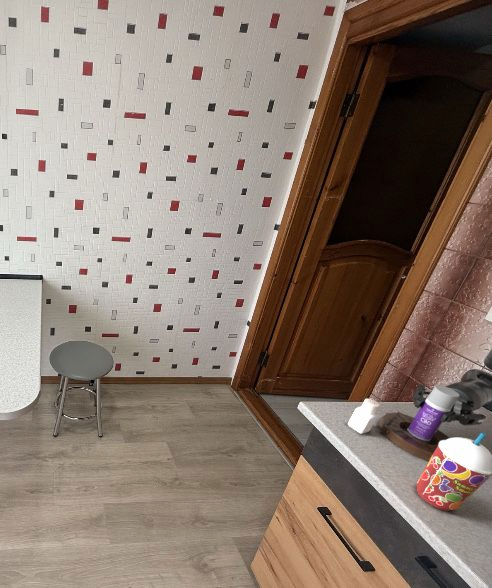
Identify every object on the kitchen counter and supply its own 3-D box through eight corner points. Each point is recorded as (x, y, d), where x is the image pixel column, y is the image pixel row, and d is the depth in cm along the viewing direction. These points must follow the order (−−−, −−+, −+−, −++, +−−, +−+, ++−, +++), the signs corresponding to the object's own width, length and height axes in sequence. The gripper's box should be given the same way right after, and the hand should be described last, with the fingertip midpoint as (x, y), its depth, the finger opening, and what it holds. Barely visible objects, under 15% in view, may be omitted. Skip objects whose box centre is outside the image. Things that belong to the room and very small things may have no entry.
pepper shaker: (355, 421, 96) (369, 396, 92) (369, 432, 93) (385, 406, 89) (346, 424, 95) (360, 398, 91) (360, 435, 92) (376, 408, 88)
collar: (459, 448, 90) (464, 441, 89) (445, 473, 82) (450, 466, 81) (389, 412, 101) (393, 406, 100) (371, 431, 93) (375, 424, 92)
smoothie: (441, 520, 71) (496, 453, 62) (399, 484, 78) (444, 420, 70) (469, 514, 72) (526, 448, 64) (426, 479, 80) (472, 416, 72)
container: (409, 435, 90) (437, 391, 84) (406, 424, 94) (432, 382, 88) (432, 444, 88) (462, 399, 82) (428, 433, 91) (457, 390, 85)
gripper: (435, 371, 97) (403, 382, 90) (506, 404, 85) (476, 419, 78) (422, 391, 100) (391, 404, 93) (490, 426, 88) (459, 443, 81)
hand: (430, 411), depth 86 cm, fingers closed on container, 4 cm apart
